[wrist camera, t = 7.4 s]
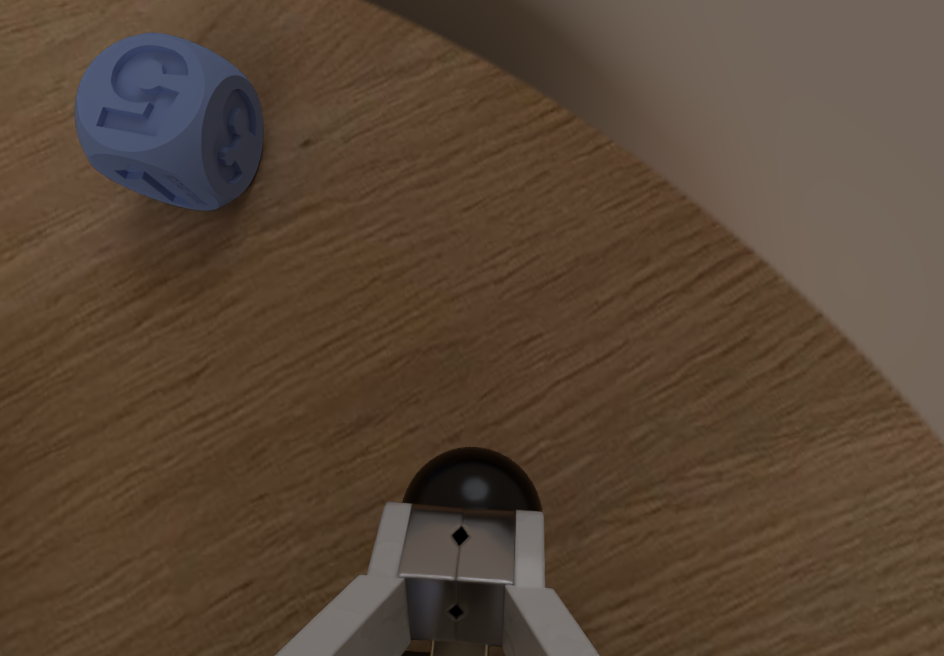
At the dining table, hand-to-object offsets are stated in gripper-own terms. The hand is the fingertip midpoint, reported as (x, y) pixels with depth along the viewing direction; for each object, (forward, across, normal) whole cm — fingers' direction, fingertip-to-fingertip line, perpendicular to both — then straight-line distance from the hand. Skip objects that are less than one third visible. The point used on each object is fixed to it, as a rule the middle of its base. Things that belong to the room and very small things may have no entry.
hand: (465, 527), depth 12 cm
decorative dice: (+13, -10, +3) cm, 17 cm away
